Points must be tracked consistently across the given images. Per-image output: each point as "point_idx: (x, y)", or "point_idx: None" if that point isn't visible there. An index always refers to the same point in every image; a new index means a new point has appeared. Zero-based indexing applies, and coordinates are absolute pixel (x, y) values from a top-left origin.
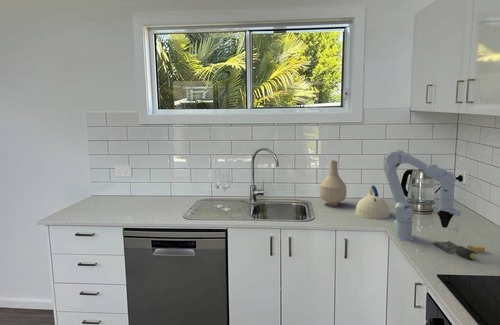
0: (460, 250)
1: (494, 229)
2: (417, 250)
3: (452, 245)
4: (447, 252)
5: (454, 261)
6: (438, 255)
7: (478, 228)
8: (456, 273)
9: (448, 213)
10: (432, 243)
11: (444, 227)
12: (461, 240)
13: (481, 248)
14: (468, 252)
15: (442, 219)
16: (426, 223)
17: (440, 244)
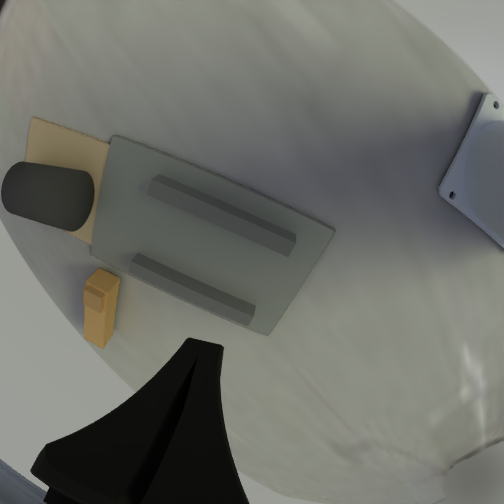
0: (45, 175)
1: (264, 485)
2: (286, 7)
3: (201, 286)
4: (137, 152)
5: (55, 87)
6: (142, 64)
7: (297, 478)
8: (6, 10)
9: (54, 495)
10: (314, 225)
11: (185, 341)
12: (255, 391)
13: (86, 325)
14: (8, 176)
15: (178, 423)
16: (453, 425)
17: (229, 212)
